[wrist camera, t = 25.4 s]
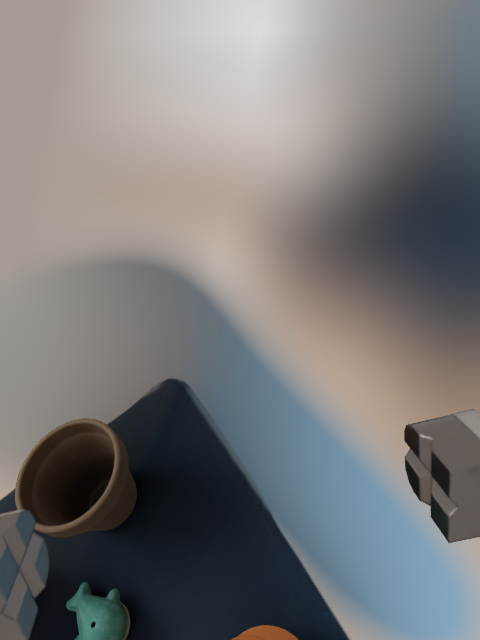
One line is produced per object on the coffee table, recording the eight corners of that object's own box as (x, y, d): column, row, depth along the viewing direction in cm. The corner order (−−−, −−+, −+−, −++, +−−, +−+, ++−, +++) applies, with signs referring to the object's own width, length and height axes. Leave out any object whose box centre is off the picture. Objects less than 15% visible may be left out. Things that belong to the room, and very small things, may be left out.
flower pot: (61, 475, 55) (12, 443, 47) (145, 437, 56) (110, 400, 48) (69, 572, 48) (12, 553, 40) (166, 528, 48) (128, 501, 41)
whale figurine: (103, 676, 41) (83, 677, 38) (60, 619, 45) (39, 616, 42) (146, 617, 44) (130, 613, 41) (101, 567, 47) (84, 560, 44)
